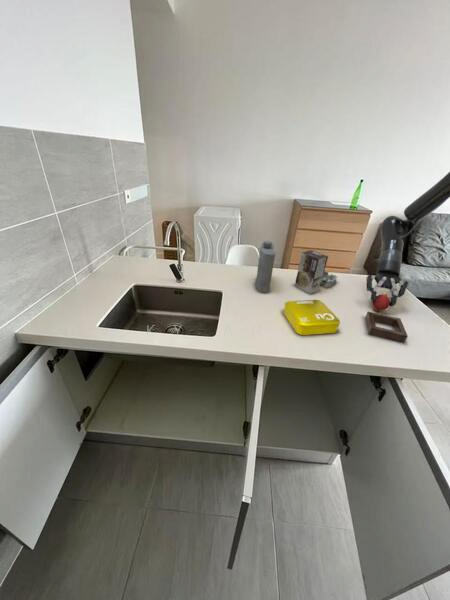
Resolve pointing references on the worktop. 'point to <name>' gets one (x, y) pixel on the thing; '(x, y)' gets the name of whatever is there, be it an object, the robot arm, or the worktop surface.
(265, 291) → the flask
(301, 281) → the coffee box
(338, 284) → the worktop surface
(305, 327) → the element tile
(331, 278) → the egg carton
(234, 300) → the worktop surface
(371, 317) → the tray
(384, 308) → the onion
